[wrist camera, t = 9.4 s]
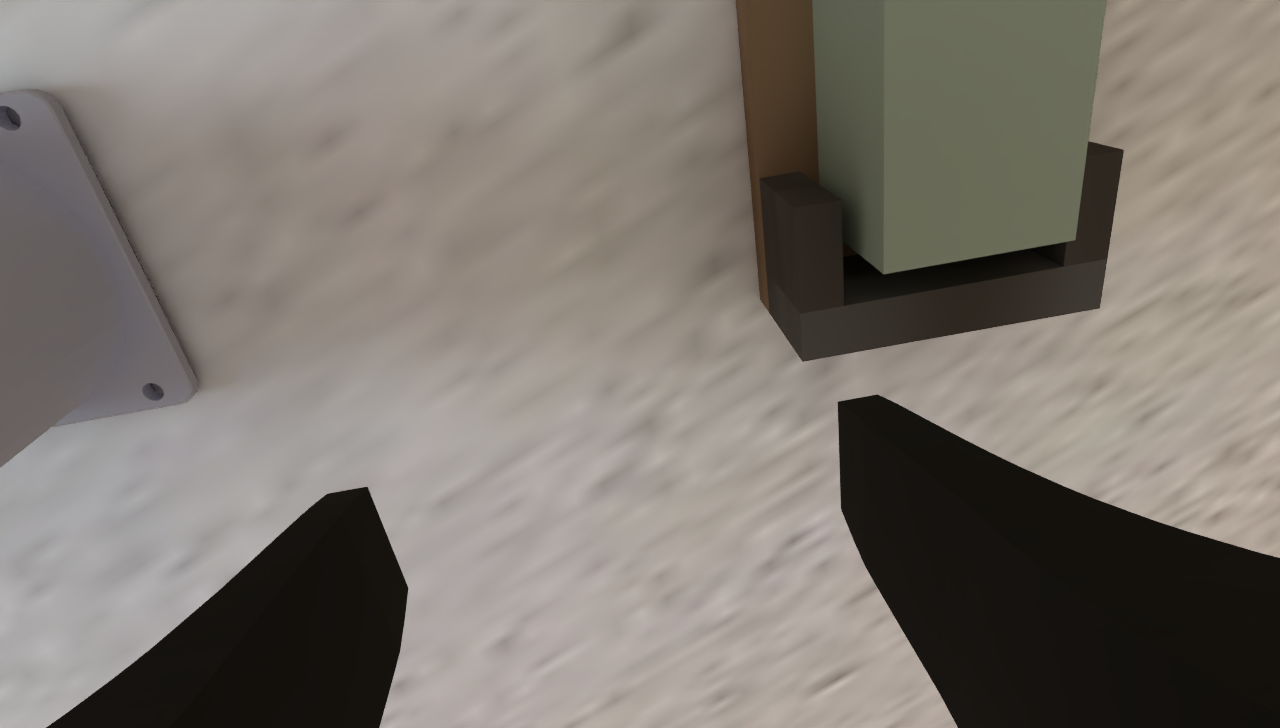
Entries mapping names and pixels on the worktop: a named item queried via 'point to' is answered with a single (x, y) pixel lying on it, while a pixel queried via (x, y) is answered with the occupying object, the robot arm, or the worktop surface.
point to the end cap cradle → (836, 274)
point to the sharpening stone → (954, 123)
